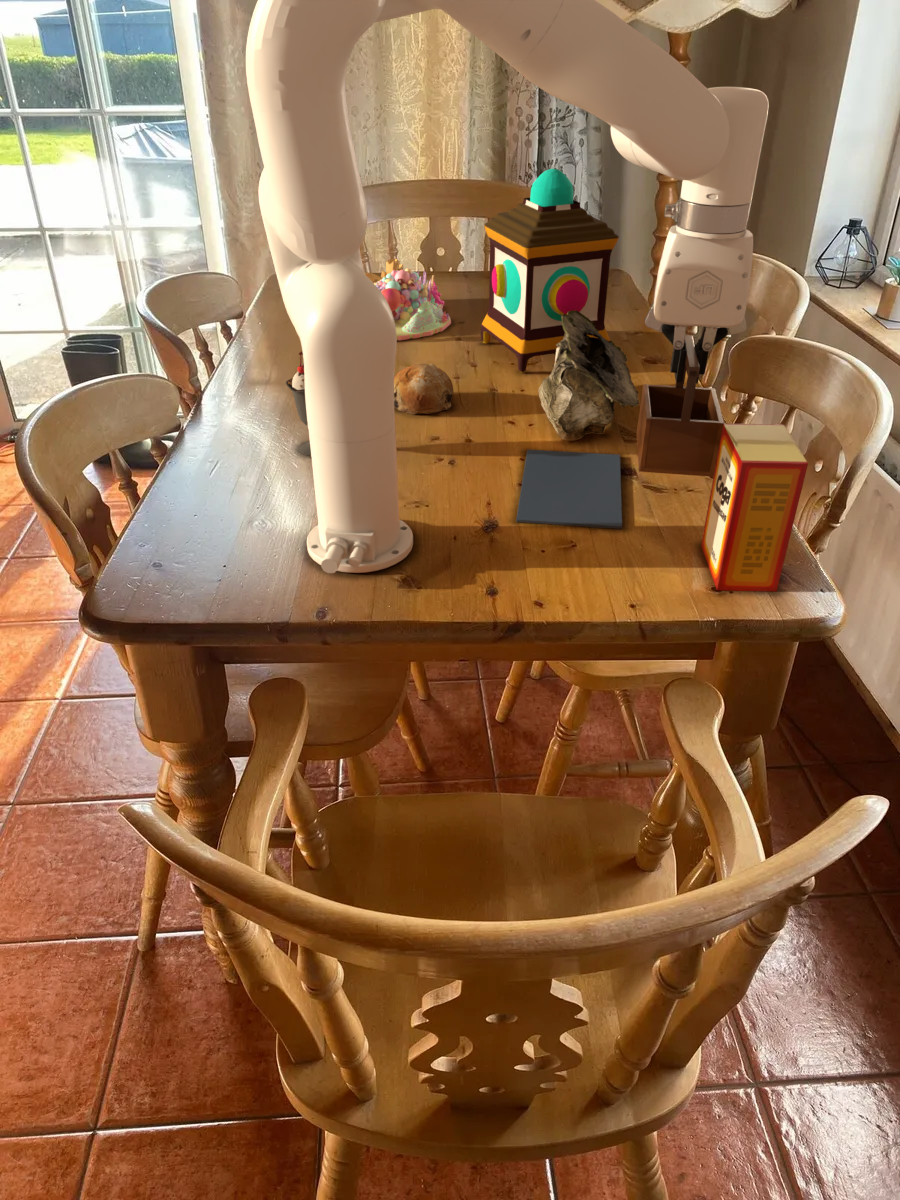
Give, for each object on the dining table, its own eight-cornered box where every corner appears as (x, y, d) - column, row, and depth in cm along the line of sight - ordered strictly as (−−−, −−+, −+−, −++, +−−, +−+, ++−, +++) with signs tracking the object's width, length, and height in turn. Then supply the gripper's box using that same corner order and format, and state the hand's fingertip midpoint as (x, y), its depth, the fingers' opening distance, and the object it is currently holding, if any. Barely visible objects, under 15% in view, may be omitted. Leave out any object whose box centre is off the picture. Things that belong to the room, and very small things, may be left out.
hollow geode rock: (578, 403, 155) (520, 336, 151) (639, 354, 149) (580, 284, 145) (569, 472, 132) (500, 396, 128) (640, 419, 126) (570, 337, 121)
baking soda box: (701, 545, 108) (723, 420, 99) (756, 546, 108) (784, 421, 99) (717, 590, 101) (743, 459, 91) (776, 591, 100) (808, 460, 91)
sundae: (296, 462, 127) (285, 357, 118) (290, 442, 132) (279, 340, 124) (343, 456, 128) (335, 352, 120) (335, 436, 134) (327, 336, 125)
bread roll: (434, 439, 141) (455, 396, 136) (374, 408, 140) (394, 364, 135) (446, 413, 149) (467, 372, 144) (391, 384, 148) (410, 342, 143)
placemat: (621, 529, 112) (622, 526, 111) (516, 522, 113) (516, 519, 113) (619, 457, 128) (620, 454, 127) (527, 451, 129) (527, 449, 129)
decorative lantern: (620, 362, 158) (640, 174, 141) (516, 378, 152) (524, 184, 135) (566, 327, 173) (578, 154, 156) (470, 341, 167) (471, 162, 150)
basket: (713, 477, 110) (735, 369, 103) (639, 471, 111) (654, 364, 104) (705, 438, 119) (724, 336, 112) (636, 434, 120) (650, 332, 113)
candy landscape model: (307, 316, 179) (303, 268, 174) (399, 292, 192) (398, 246, 187) (387, 348, 164) (385, 296, 159) (481, 320, 177) (482, 271, 172)
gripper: (641, 222, 97) (621, 386, 108) (791, 228, 95) (756, 394, 106) (639, 207, 103) (620, 364, 114) (780, 212, 101) (747, 371, 112)
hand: (686, 378), depth 110 cm, fingers closed on basket, 1 cm apart
